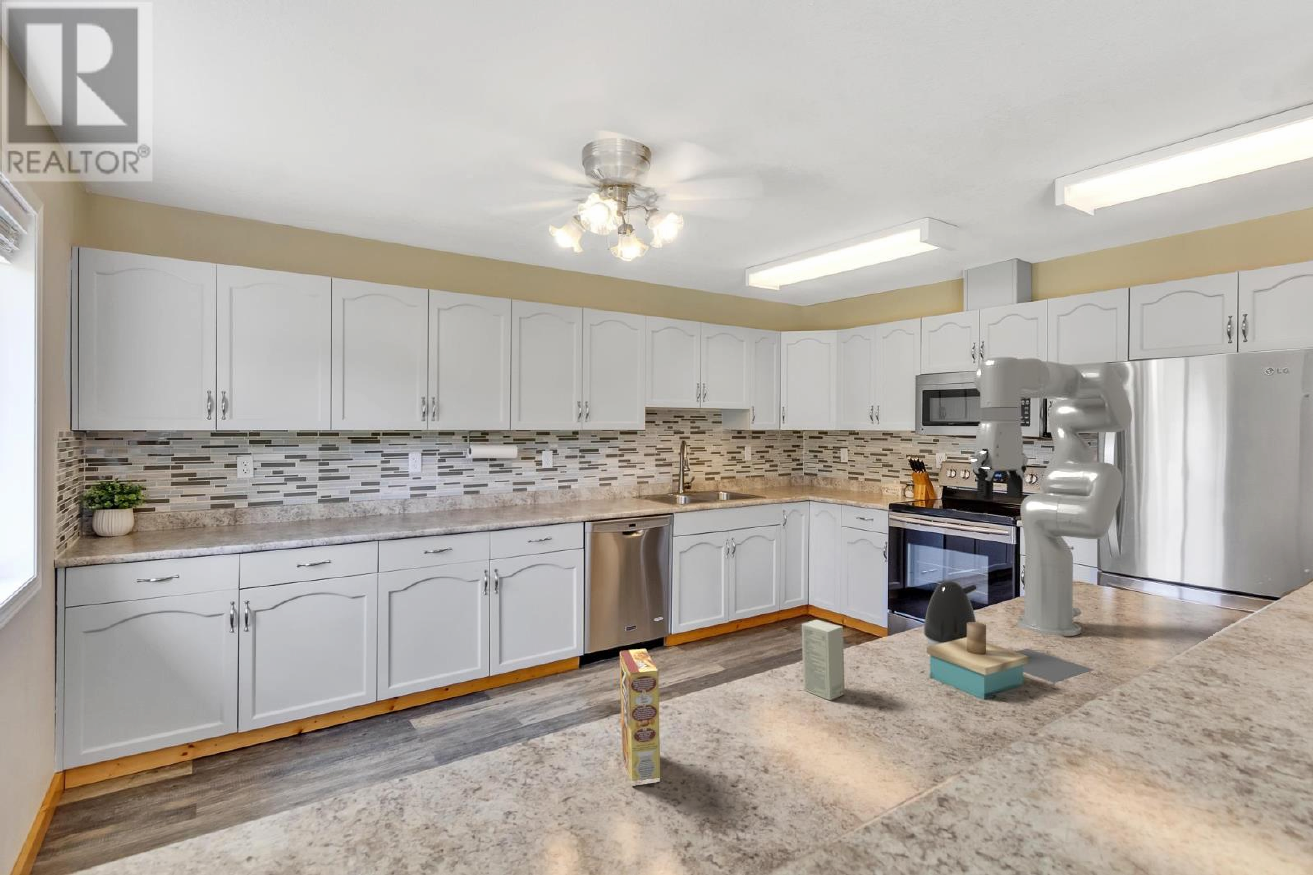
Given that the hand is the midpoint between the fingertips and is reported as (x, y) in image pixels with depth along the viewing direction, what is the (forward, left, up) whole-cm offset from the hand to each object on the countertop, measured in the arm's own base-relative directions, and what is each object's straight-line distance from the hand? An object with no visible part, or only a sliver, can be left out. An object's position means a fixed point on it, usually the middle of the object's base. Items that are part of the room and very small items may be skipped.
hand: (1000, 498), depth 132 cm
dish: (+19, +8, -32) cm, 38 cm away
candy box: (+87, +5, -32) cm, 93 cm away
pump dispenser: (+10, -4, -32) cm, 34 cm away
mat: (+1, +9, -32) cm, 34 cm away
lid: (+19, +8, -28) cm, 35 cm away
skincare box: (+47, -2, -32) cm, 57 cm away
